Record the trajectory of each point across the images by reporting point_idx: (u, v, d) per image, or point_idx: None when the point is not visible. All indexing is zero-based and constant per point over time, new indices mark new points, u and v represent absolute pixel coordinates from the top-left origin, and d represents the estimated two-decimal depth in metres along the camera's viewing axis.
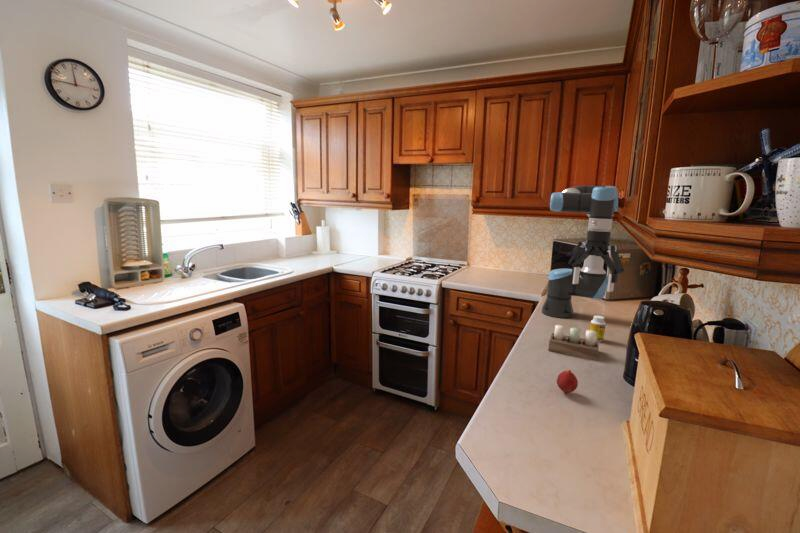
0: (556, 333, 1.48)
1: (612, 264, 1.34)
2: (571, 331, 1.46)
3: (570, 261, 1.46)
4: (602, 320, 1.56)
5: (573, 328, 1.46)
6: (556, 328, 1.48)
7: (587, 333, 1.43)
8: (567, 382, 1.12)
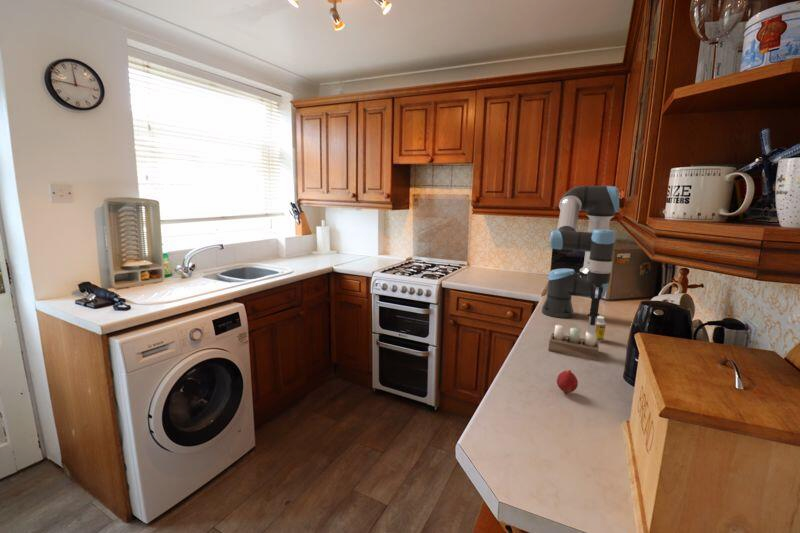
0: (556, 333, 1.48)
1: None
2: (571, 331, 1.46)
3: None
4: (602, 320, 1.56)
5: (573, 328, 1.46)
6: (556, 328, 1.48)
7: (587, 334, 1.43)
8: (567, 382, 1.12)
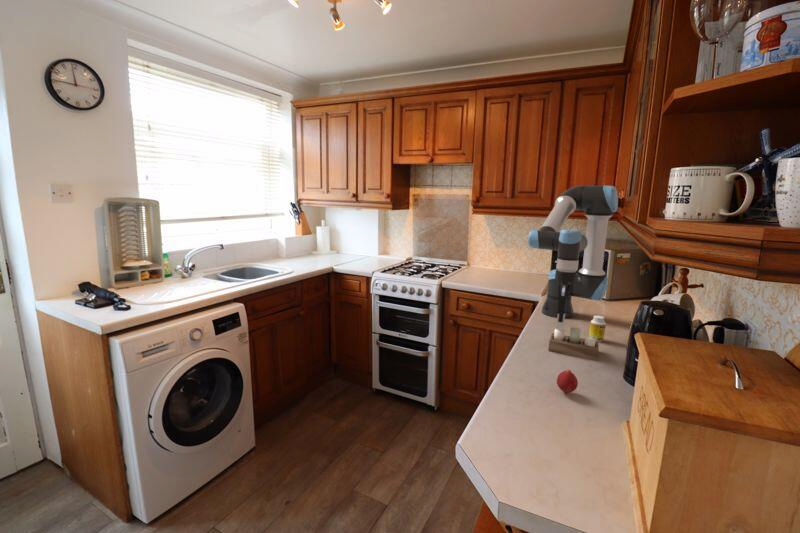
0: (555, 336, 1.48)
1: None
2: (571, 331, 1.46)
3: None
4: (602, 320, 1.56)
5: (573, 328, 1.46)
6: (556, 331, 1.48)
7: (586, 340, 1.44)
8: (566, 382, 1.12)
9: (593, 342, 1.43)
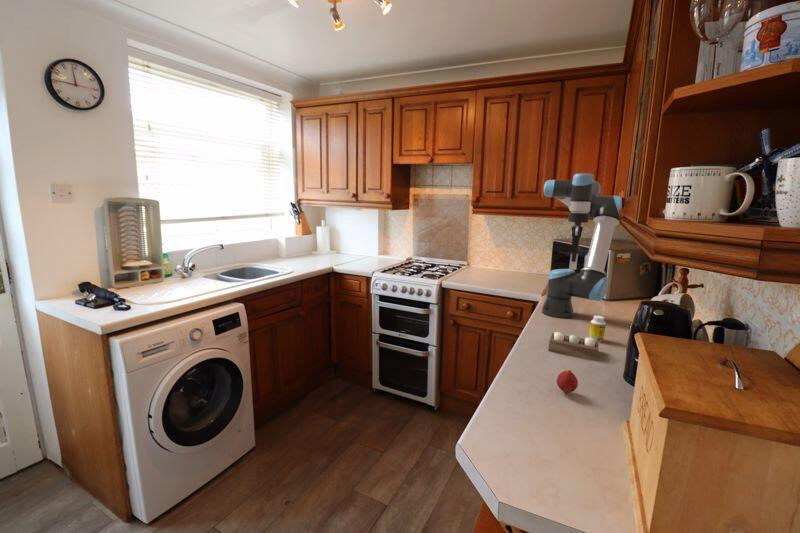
0: None
1: None
2: (570, 338, 1.46)
3: None
4: (602, 320, 1.56)
5: (572, 335, 1.47)
6: (555, 335, 1.48)
7: (586, 340, 1.44)
8: (567, 382, 1.12)
9: (593, 342, 1.43)
